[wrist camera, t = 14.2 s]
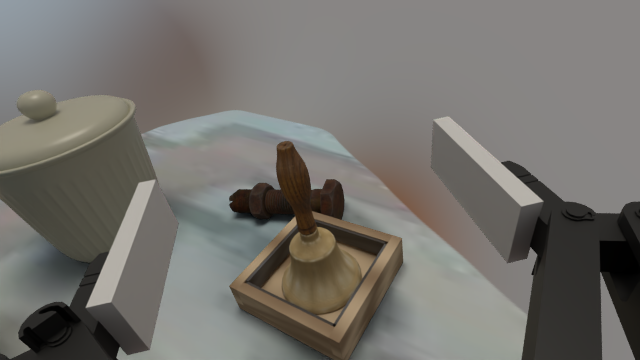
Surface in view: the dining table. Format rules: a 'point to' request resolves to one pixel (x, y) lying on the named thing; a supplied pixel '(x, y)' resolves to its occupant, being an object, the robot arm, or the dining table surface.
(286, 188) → the hand bell
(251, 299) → the square tray
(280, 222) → the dining table surface
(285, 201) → the bolt
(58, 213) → the canister
